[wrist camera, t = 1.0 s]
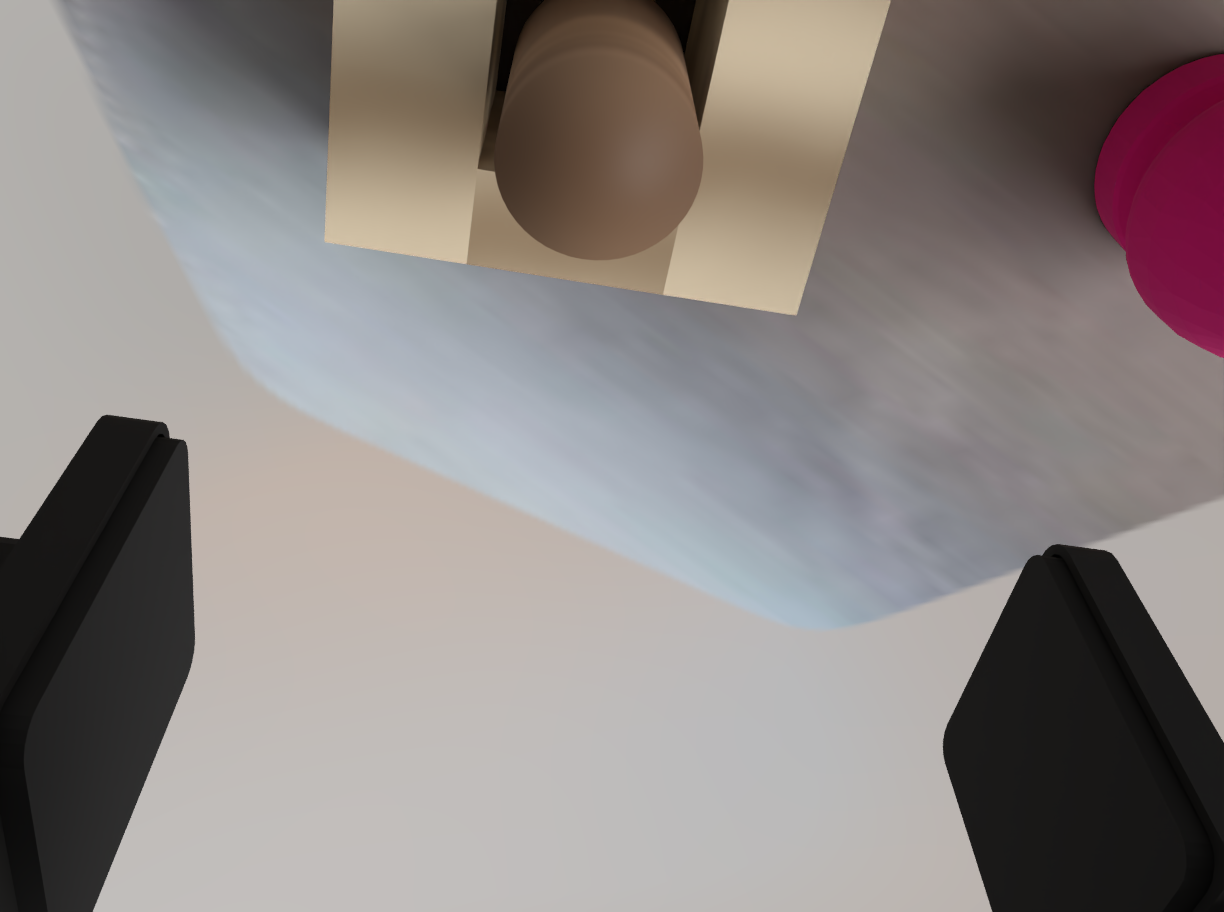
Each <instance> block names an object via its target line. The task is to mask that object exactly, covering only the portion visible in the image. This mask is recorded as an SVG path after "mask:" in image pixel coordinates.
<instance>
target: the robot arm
mask: <svg viewBox="0 0 1224 912" xmlns="http://www.w3.org/2000/svg"><path fill="white" fill-rule="evenodd" d="M190 524H191V522H190V495H189V469H188V450H187V445H186V442H185V441H184V440H178V439H172V438H170V437H169V431H168V428H167V425H166V424H164V423H163V422H155V421H149V420H141V419H133V418H127V417H119V416H112V415H105V416H102V417H101V418H100V419H99V420H98V421H97V423H96V424H95V426H94V427H93V429H92V430H91V432H90V433H89V435H88V436H87V438H86V439H85V441H84V442H83V444H82V445H81V447H80V448H79V450H78V451H77V453H76V454H75V456H74V457H73V459H72V460H71V462H70V463H69V465H68V466H67V468H66V470H65V471H64V473H63V474H62V475H61V477H60V479H59V480H58V482H57V483H56V485H55V486H54V488H53V489H52V491H51V492H50V494H49V495H48V497H47V498H46V500H45V501H44V503H43V504H42V506H41V507H40V509H39V511H38V512H37V514H36V515H35V516H34V518H33V519H32V521H31V523H30V524H29V526H28V527H27V529H26V530H25V531H24V533H23V535H22V536H21V538H20V539H13V538H5V537H0V912H93V909H94V907H95V904H96V902H97V899H98V897H99V894H100V892H101V889H102V887H103V885H104V882H105V879H106V877H107V875H108V872H109V870H110V867H111V865H112V862H113V860H114V857H115V855H116V852H117V850H118V847H119V845H120V843H121V840H122V837H123V835H124V833H125V830H126V828H127V825H128V823H129V820H130V818H131V815H132V813H133V810H134V808H135V805H136V803H137V800H138V798H139V796H140V793H141V791H142V788H143V786H144V783H145V781H146V778H147V776H148V773H149V771H150V768H151V766H152V763H153V761H154V758H155V756H156V753H157V751H158V749H159V746H160V744H161V741H162V739H163V736H164V733H165V731H166V728H167V726H168V724H169V721H170V719H171V716H172V714H173V711H174V709H175V706H176V704H177V702H178V699H179V697H180V694H181V692H182V689H183V687H184V684H185V681H186V679H187V677H188V674H189V671H190V668H191V663H192V659H193V654H194V645H195V629H194V601H193V575H192V548H191V525H190ZM943 755H944V760H945V764H946V767H947V770H948V774H949V777H950V780H951V783H952V786H953V789H954V792H955V795H956V799H957V802H958V805H959V808H960V811H961V814H962V817H963V821H964V824H965V827H966V830H967V833H968V836H969V840H970V842H971V846H972V849H973V852H974V855H975V858H976V861H977V864H978V868H979V871H980V874H981V877H982V880H983V883H984V887H985V890H986V893H987V896H988V899H989V902H990V906H991V909H992V912H1224V742H1223V741H1222V739H1221V737H1220V736H1219V734H1218V732H1217V730H1216V729H1215V727H1214V725H1213V724H1212V722H1211V720H1210V718H1209V717H1208V715H1207V713H1206V712H1205V710H1204V708H1203V706H1202V705H1201V703H1200V701H1199V700H1198V698H1197V696H1196V695H1195V693H1194V691H1193V689H1192V687H1191V686H1190V684H1189V683H1188V681H1187V679H1186V677H1185V676H1184V674H1183V672H1182V670H1181V669H1180V667H1179V665H1178V663H1177V662H1176V660H1175V658H1174V657H1173V655H1172V653H1171V652H1170V650H1169V648H1168V647H1167V645H1166V643H1165V641H1164V640H1163V638H1162V636H1161V634H1160V633H1159V631H1158V629H1157V627H1156V626H1155V624H1154V622H1153V621H1152V619H1151V617H1150V615H1149V614H1148V612H1147V610H1146V609H1145V607H1144V605H1143V603H1142V602H1141V600H1140V598H1139V597H1138V595H1137V593H1136V591H1135V590H1134V588H1133V586H1132V584H1131V583H1130V581H1129V579H1128V578H1127V576H1126V574H1125V572H1124V571H1123V569H1122V568H1121V566H1120V564H1119V562H1118V561H1117V559H1116V558H1115V557H1114V556H1113V555H1112V553H1110V552H1107V551H1105V550H1097V549H1090V548H1083V547H1075V546H1068V545H1061V544H1056V545H1052V546H1050V547H1049V548H1048V549H1047V550H1046V551H1045V552H1044V554H1043V555H1042V556H1041V555H1035V556H1032V557H1031V558H1030V559H1029V560H1028V561H1027V563H1026V565H1025V566H1024V568H1023V570H1022V572H1021V574H1020V577H1019V579H1018V581H1017V583H1016V585H1015V587H1014V589H1013V591H1012V593H1011V595H1010V597H1009V599H1008V601H1007V603H1006V605H1005V607H1004V609H1003V611H1002V613H1001V616H1000V618H999V620H998V622H997V624H996V626H995V628H994V630H993V632H992V634H991V636H990V638H989V640H988V642H987V644H986V646H985V648H984V651H983V652H982V654H981V657H980V659H979V661H978V663H977V665H976V667H975V669H974V671H973V673H972V675H971V677H970V679H969V681H968V683H967V685H966V687H965V689H964V691H963V693H962V696H961V698H960V700H959V702H958V704H957V706H956V708H955V710H954V712H953V714H952V716H951V718H950V720H949V722H948V724H947V727H946V730H945V734H944V739H943Z"/></svg>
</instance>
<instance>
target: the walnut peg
mask: <svg viewBox="0 0 1224 912" xmlns="http://www.w3.org/2000/svg"><path fill="white" fill-rule="evenodd" d="M494 167H495V176H496V180H497V185H498V188H499V191H500V194H501V196H502V199H503V201H504V203H505V205H506V207H507V209H508V210H509V212H510V213H511V215H512V216H513V218H514V219H515V220H516V222H517V223H518V224H519V225H520V226H521V227H522V228H523V229H524V231H526V232H527V233H528V234H529V235H530V236H531V237H533V238H534V239H535V240H537V241H538V242H540V243H541V244H543V245H544V246H546V247H548V248H550V249H552V250H554V251H556V252H558V253H561V254H564V255H567V256H570V257H574V258H579V259H585V260H613V259H620V258H624V257H628V256H631V255H635V254H637V253H639V252H642V251H644V250H646V249H648V248H650V247H652V246H654V245H655V244H657V243H659V242H660V241H661V240H663V239H664V238H665V237H667V236H668V235H669V234H670V233H671V232H672V231H673V230H674V229H675V228H676V227H677V226H678V225H679V224H680V223H681V221H682V220H683V219H684V218H685V216H686V215H687V213H688V211H689V210H690V208H691V207H692V205H693V202H694V200H695V198H696V196H697V193H698V190H699V187H700V183H701V178H702V172H703V148H702V140H701V135H700V131H699V126H698V121H697V116H696V111H695V107H694V102H693V97H692V92H691V87H690V83H689V78H688V73H687V68H686V63H685V59H684V54H683V50H682V46H681V42H680V39H679V36H678V34H677V31H676V29H675V27H674V26H673V24H672V22H671V20H670V19H669V17H668V16H667V15H666V13H665V12H664V11H663V10H662V9H661V8H660V7H659V6H658V5H657V4H656V3H655V2H654V1H653V0H545V1H543V2H542V3H541V4H540V5H539V6H538V7H537V8H536V9H535V10H534V11H533V13H532V14H531V15H530V17H529V18H528V20H527V21H526V23H525V24H524V26H523V28H522V30H521V33H520V35H519V38H518V41H517V44H516V48H515V53H514V57H513V62H512V67H511V71H510V76H509V81H508V86H507V90H506V95H505V100H504V104H503V109H502V114H501V118H500V123H499V128H498V133H497V138H496V143H495V150H494Z"/></svg>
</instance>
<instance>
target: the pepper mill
mask: <svg viewBox="0 0 1224 912" xmlns="http://www.w3.org/2000/svg"><path fill="white" fill-rule="evenodd" d="M1094 188H1095V200H1096V206H1097V210H1098V212H1099V215H1100V218H1101V220H1102V222H1103V224H1104V225H1105V227H1106V229H1107V230H1108V231H1109V233H1110V234H1111V235H1112V236H1113V238H1114V239H1115V240H1116V241H1117V242H1118V243H1119V244H1120V246H1121V247H1122V248H1123V249H1124V250H1125V251H1126V260H1127V264H1128V268H1129V272H1130V276H1131V278H1132V280H1133V283H1134V285H1135V287H1136V289H1137V291H1138V293H1139V294H1140V296H1141V297H1142V299H1143V301H1144V302H1145V304H1146V305H1147V306H1148V307H1149V308H1150V309H1151V310H1152V311H1153V312H1154V313H1155V314H1156V315H1157V316H1158V317H1159V318H1160V319H1161V320H1162V321H1163V322H1165V323H1166V324H1167V325H1168V326H1169V327H1170V328H1171V329H1172V330H1173V331H1174V332H1176V333H1177V334H1178V335H1179V336H1181V337H1183V338H1185V339H1186V340H1188V341H1190V342H1192V343H1194V344H1195V345H1197V346H1199V347H1201V348H1203V349H1205V350H1207V351H1209V352H1211V353H1213V354H1215V355H1217V356H1219V357H1222V358H1224V54H1219V55H1214V56H1210V57H1205V58H1202V59H1199V60H1196V61H1193V62H1191V63H1188V64H1185V65H1183V66H1181V67H1179V68H1177V69H1175V70H1173V71H1171V72H1169V73H1168V74H1166V75H1164V76H1162V77H1161V78H1160V79H1158V80H1157V81H1156V82H1154V83H1153V84H1152V85H1150V86H1149V87H1147V88H1146V89H1145V90H1143V91H1142V92H1141V93H1140V94H1139V95H1138V96H1137V97H1136V98H1135V99H1134V100H1133V101H1132V103H1131V104H1130V105H1129V106H1128V107H1127V108H1126V109H1125V111H1124V112H1123V113H1122V114H1121V115H1120V117H1119V118H1118V120H1117V121H1116V123H1115V124H1114V126H1113V127H1112V129H1111V131H1110V133H1109V135H1108V137H1107V138H1106V140H1105V142H1104V144H1103V147H1102V150H1101V152H1100V155H1099V159H1098V163H1097V167H1096V173H1095V183H1094Z"/></svg>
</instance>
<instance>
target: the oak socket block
mask: <svg viewBox="0 0 1224 912" xmlns="http://www.w3.org/2000/svg"><path fill="white" fill-rule="evenodd" d="M890 2H891V0H696V3H695V8H694V12H693V17H692V22H691V27H690V32H689V36H688V41H687V46H686V51H685V56H684V59H685V63H686V68H687V73H688V78H689V83H690V87H691V92H692V97H693V102H694V107H695V111H696V116H697V121H698V126H699V131H700V135H701V140H702V148H703V172H702V178H701V183H700V187H699V190H698V193H697V196H696V198H695V200H694V202H693V205H692V207H691V208H690V210H689V211H688V213H687V215H686V216H685V218H684V219H683V220H682V221H681V223H680V224H679V225H678V226H677V227H676V228H675V229H674V230H673V231H672V232H671V233H670V234H669V235H668V236H667V237H665V238H664V239H663V240H661V241H660V242H659V243H657V244H655V245H654V246H652V247H650V248H648V249H646V250H644V251H642V252H639V253H637V254H635V255H631V256H628V257H624V258H620V259H613V260H585V259H579V258H574V257H570V256H567V255H564V254H561V253H558V252H556V251H554V250H552V249H550V248H548V247H546V246H544V245H543V244H541V243H540V242H538V241H537V240H535V239H534V238H533V237H531V236H530V235H529V234H528V233H527V232H526V231H524V229H523V228H522V227H521V226H520V225H519V224H518V223H517V222H516V220H515V219H514V218H513V216H512V215H511V213H510V212H509V210H508V209H507V207H506V205H505V203H504V201H503V199H502V196H501V194H500V191H499V188H498V185H497V180H496V176H495V167H494V150H495V143H496V138H497V133H498V128H499V123H500V118H501V114H502V109H503V104H504V100H505V95H506V92H503V91H497V90H496V86H497V78H498V70H499V61H500V53H501V45H502V36H503V28H504V19H505V11H506V3H507V0H334V6H333V33H332V59H331V86H330V112H329V139H328V165H327V192H326V218H325V242H328V243H334V244H341V245H347V246H354V247H360V248H367V249H373V250H379V251H386V252H392V253H399V254H405V255H411V256H418V257H424V258H431V259H437V260H443V261H450V262H456V263H463V264H469V265H475V266H482V267H488V268H495V269H501V270H508V271H514V272H520V273H527V274H533V275H540V276H546V277H552V278H559V279H565V280H572V281H578V282H584V283H591V284H597V285H604V286H610V287H616V288H623V289H629V290H636V291H642V292H648V293H655V294H661V295H668V296H674V297H681V298H687V299H693V300H700V301H706V302H713V303H719V304H725V305H732V306H738V307H745V308H751V309H757V310H764V311H770V312H777V313H783V314H789V315H797V311H798V308H799V305H800V301H801V298H802V295H803V292H804V288H805V285H806V282H807V278H808V275H809V272H810V268H811V265H812V262H813V258H814V255H815V252H816V248H817V245H818V242H819V238H820V235H821V232H822V228H823V225H824V222H825V218H826V215H827V212H828V208H829V205H830V202H831V198H832V195H833V192H834V188H835V185H836V182H837V178H838V175H839V172H840V168H841V165H842V162H843V158H844V155H845V152H846V149H847V145H848V142H849V139H850V135H851V132H852V129H853V125H854V122H855V119H856V115H857V112H858V109H859V105H860V102H861V99H862V95H863V92H864V89H865V85H866V82H867V79H868V75H869V72H870V69H871V65H872V62H873V59H874V55H875V52H876V49H877V45H878V42H879V39H880V35H881V32H882V29H883V25H884V22H885V19H886V15H887V12H888V9H889V6H890Z"/></svg>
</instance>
